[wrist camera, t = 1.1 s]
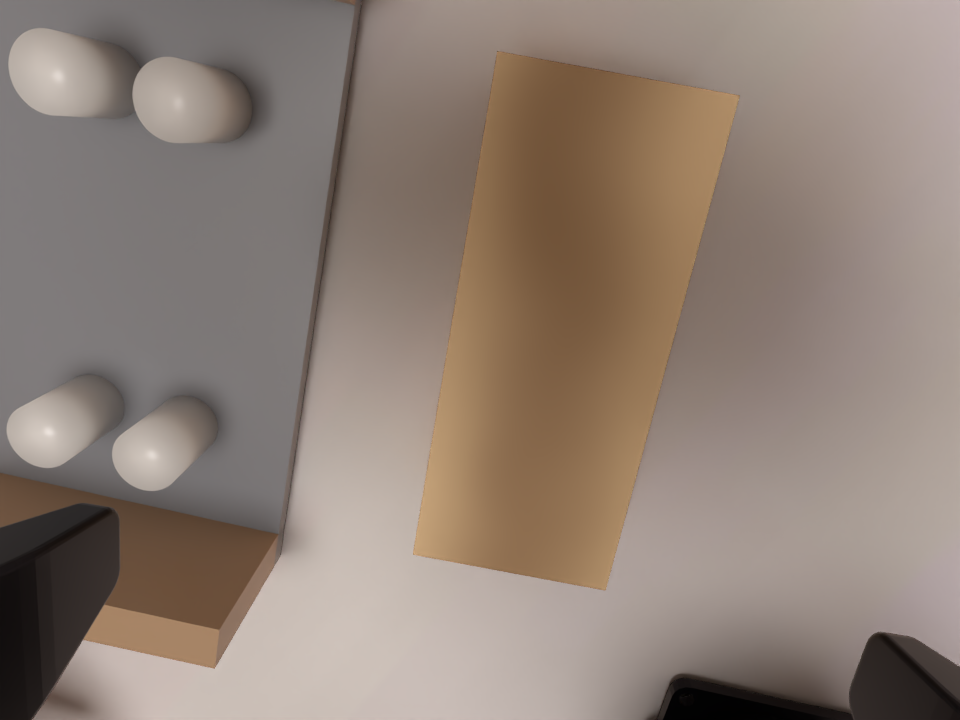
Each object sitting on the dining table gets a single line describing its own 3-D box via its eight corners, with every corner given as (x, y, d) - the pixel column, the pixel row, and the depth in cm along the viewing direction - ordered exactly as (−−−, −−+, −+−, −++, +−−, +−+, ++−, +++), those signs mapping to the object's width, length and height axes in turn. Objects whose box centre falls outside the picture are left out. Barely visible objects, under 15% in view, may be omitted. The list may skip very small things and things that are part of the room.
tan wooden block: (693, 105, 18) (739, 95, 14) (590, 511, 22) (605, 590, 18) (502, 70, 18) (497, 51, 14) (432, 481, 22) (412, 554, 18)
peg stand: (368, -44, 17) (308, -115, 12) (280, 556, 22) (214, 668, 18) (6, -127, 17) (-194, -231, 12) (4, 495, 22) (-137, 591, 18)
